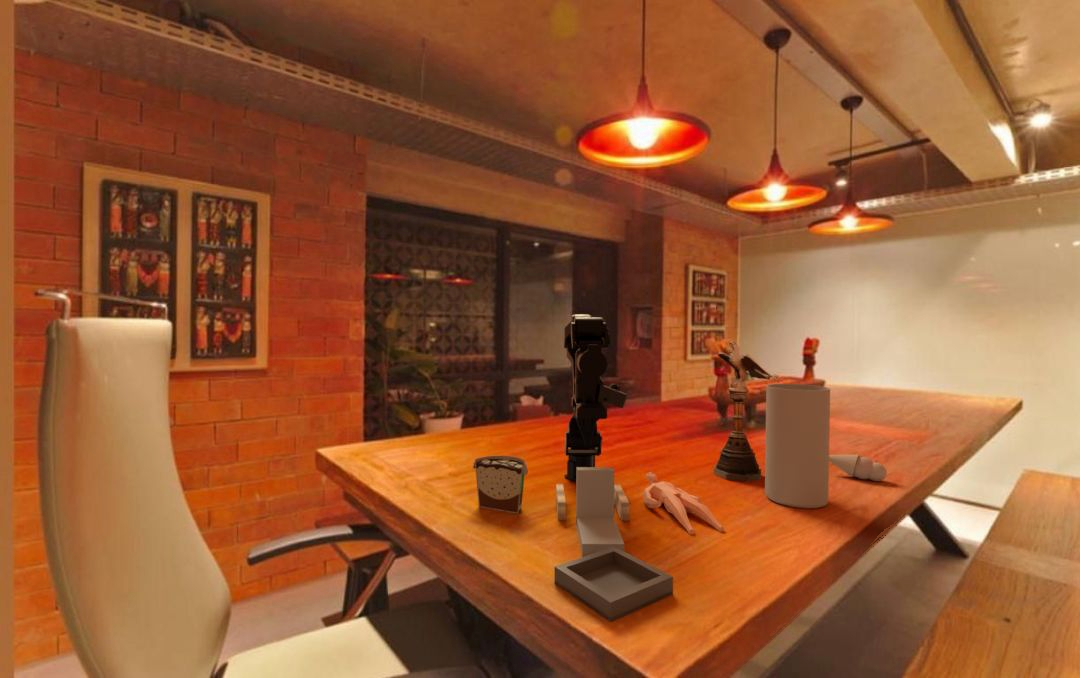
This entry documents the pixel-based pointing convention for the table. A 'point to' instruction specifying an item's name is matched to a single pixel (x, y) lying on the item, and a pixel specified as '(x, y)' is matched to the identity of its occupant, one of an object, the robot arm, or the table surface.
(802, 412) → the cylinder vase
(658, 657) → the table surface
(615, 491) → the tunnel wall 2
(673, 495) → the male figurine
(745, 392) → the bird statue
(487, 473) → the food container
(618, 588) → the tray
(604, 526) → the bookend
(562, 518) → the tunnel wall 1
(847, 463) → the ice cream cone
